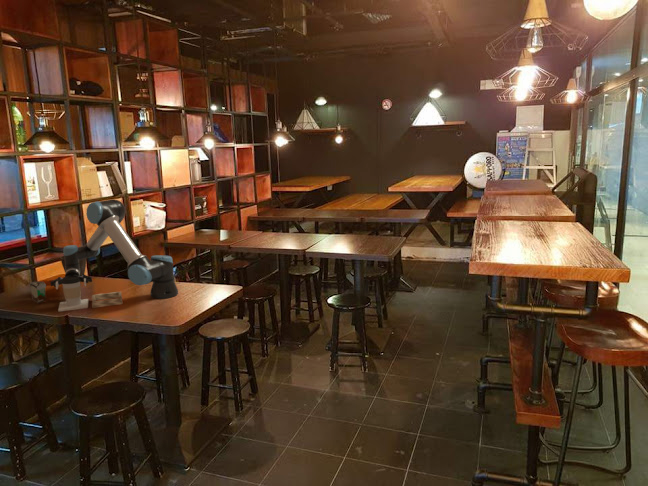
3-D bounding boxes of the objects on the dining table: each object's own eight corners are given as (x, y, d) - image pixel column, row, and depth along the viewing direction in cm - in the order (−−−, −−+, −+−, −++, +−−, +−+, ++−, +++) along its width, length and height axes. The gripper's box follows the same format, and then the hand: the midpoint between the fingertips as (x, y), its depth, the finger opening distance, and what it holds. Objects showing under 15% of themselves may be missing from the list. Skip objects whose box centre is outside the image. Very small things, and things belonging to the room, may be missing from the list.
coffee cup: (75, 307, 262) (72, 279, 259) (60, 306, 263) (57, 279, 260) (86, 301, 270) (83, 275, 267) (72, 301, 272) (69, 274, 269)
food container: (51, 301, 275) (49, 284, 273) (39, 304, 271) (37, 286, 269) (43, 296, 284) (41, 280, 282) (31, 299, 279) (29, 282, 277)
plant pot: (60, 280, 318) (57, 256, 315) (84, 276, 328) (82, 252, 324) (67, 285, 307) (64, 260, 304) (92, 280, 317) (89, 256, 314)
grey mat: (88, 300, 276) (88, 298, 276) (88, 307, 263) (87, 306, 263) (60, 304, 270) (59, 302, 270) (58, 311, 258) (58, 309, 258)
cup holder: (121, 296, 283) (120, 291, 282) (122, 303, 269) (122, 298, 269) (92, 300, 277) (92, 294, 276) (92, 307, 263) (91, 302, 263)
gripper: (96, 279, 289) (97, 288, 270) (48, 284, 279) (45, 294, 260) (95, 267, 288) (95, 275, 269) (46, 272, 278) (43, 281, 259)
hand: (71, 285), depth 265 cm, fingers open, 13 cm apart
